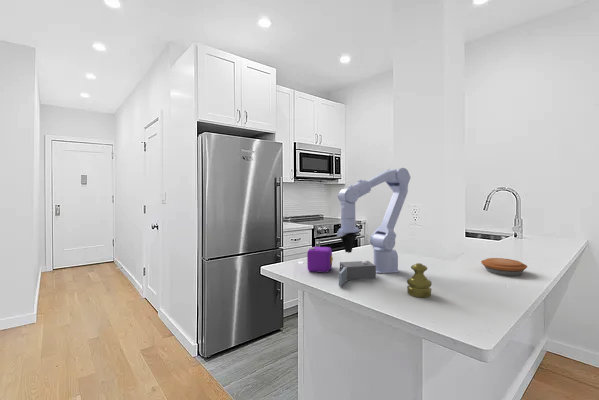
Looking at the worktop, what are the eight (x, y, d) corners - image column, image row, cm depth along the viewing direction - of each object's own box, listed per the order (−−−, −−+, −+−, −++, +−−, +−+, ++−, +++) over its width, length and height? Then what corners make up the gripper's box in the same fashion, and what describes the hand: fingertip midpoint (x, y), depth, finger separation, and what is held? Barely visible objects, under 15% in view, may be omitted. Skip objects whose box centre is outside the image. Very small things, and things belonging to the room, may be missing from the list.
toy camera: (332, 265, 137) (332, 243, 137) (333, 273, 123) (332, 249, 123) (309, 265, 138) (308, 243, 138) (307, 273, 124) (306, 249, 124)
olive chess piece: (429, 299, 92) (429, 267, 92) (404, 295, 96) (404, 264, 96) (433, 292, 99) (433, 262, 98) (409, 289, 102) (409, 260, 102)
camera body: (368, 272, 123) (368, 259, 123) (375, 278, 115) (375, 263, 115) (338, 274, 121) (338, 260, 121) (343, 280, 113) (343, 265, 113)
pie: (527, 280, 111) (527, 267, 111) (478, 273, 120) (478, 261, 120) (527, 271, 123) (527, 259, 123) (483, 265, 132) (483, 254, 132)
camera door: (341, 286, 105) (341, 273, 105) (338, 286, 105) (338, 272, 105) (347, 279, 113) (346, 267, 113) (343, 279, 113) (343, 266, 113)
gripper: (347, 216, 127) (348, 248, 128) (330, 219, 116) (330, 254, 116) (363, 217, 123) (363, 249, 124) (346, 220, 112) (346, 256, 112)
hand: (348, 252), depth 120 cm, fingers closed
